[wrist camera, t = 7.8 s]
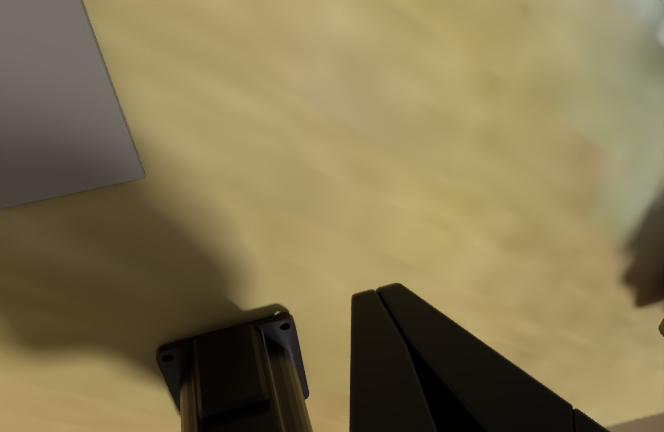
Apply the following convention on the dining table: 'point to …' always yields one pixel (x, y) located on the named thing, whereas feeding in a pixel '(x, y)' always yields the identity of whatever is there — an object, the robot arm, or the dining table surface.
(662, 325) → the dragon fruit
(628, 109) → the dining table surface
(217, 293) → the dining table surface
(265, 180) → the dining table surface
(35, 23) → the mat
